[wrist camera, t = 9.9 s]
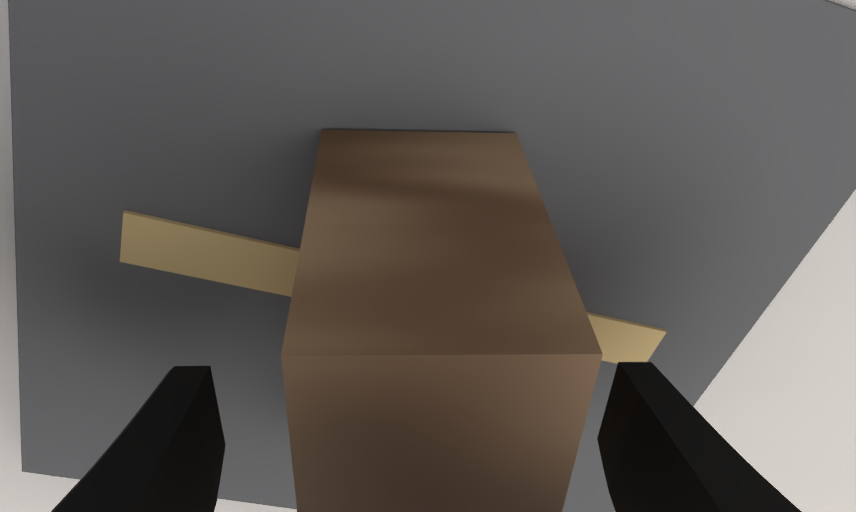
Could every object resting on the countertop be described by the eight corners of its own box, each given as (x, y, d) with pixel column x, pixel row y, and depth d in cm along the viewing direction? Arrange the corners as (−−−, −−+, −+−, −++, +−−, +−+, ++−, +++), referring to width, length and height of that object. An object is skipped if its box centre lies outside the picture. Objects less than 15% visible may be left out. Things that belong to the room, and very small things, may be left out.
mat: (30, 455, 18) (20, 474, 17) (16, -293, 9) (-4, -298, 9) (582, 534, 21) (587, 552, 21) (941, 40, 13) (963, 51, 12)
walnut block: (335, 427, 17) (315, 691, 12) (321, 129, 12) (279, 355, 7) (478, 426, 17) (517, 683, 12) (515, 133, 13) (602, 354, 8)
